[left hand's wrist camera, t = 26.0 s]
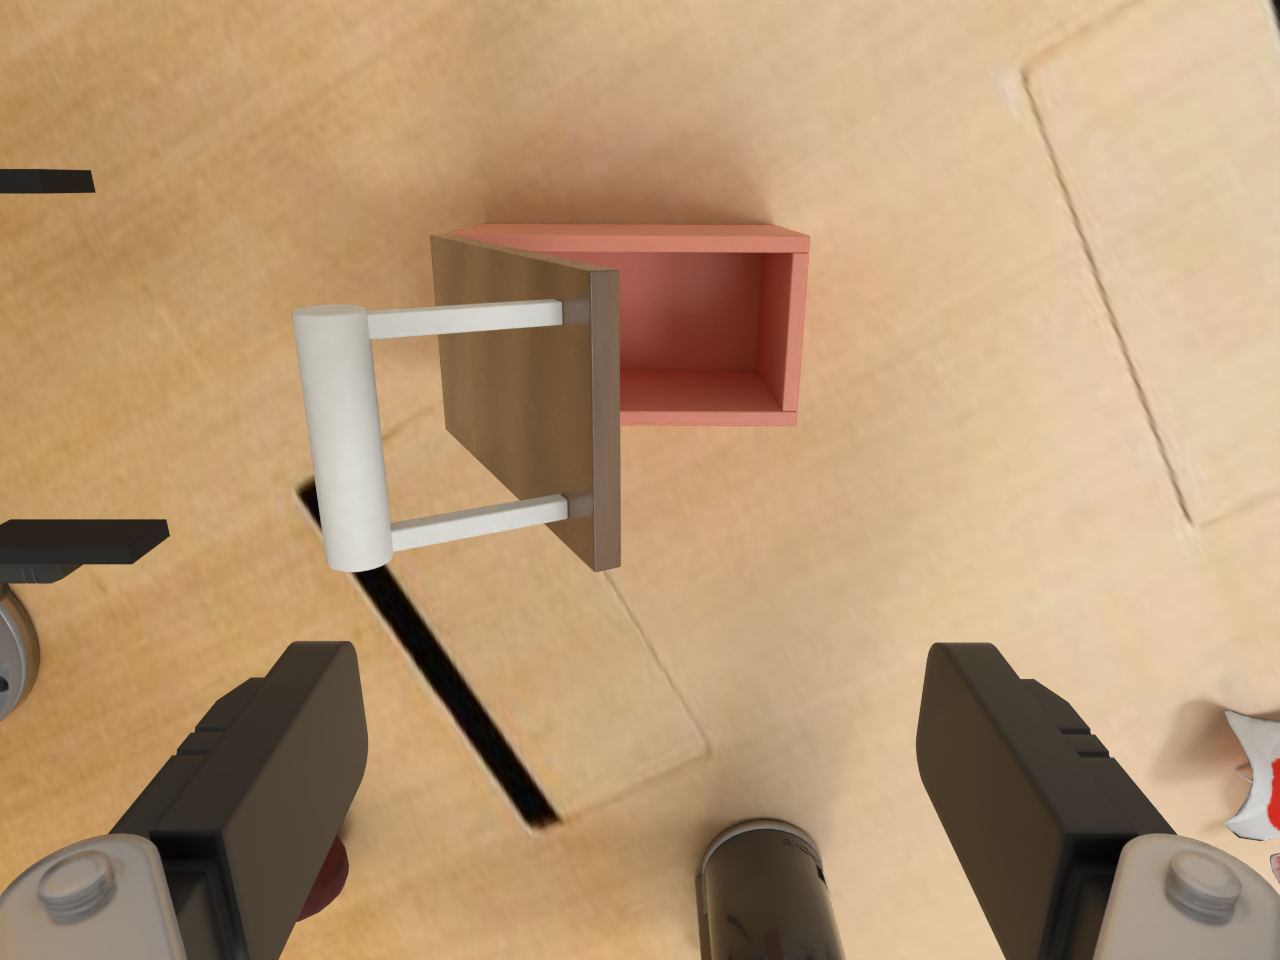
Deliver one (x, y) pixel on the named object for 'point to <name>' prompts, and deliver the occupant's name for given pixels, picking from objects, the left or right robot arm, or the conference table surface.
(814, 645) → the conference table surface
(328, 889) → the potato
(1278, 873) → the fish
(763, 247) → the chest
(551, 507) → the lid
